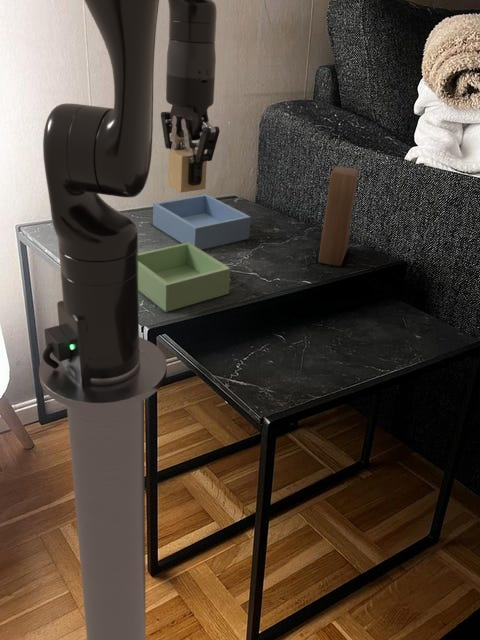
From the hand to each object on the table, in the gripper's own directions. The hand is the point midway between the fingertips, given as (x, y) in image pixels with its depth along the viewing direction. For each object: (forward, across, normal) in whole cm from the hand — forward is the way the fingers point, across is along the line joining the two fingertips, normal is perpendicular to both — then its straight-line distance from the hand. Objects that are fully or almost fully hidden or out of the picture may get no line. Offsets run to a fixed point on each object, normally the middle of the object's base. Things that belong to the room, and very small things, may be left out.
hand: (186, 180), depth 103 cm
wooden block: (+16, +9, +29) cm, 35 cm away
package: (+1, 0, 0) cm, 1 cm away
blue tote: (+16, -14, +13) cm, 25 cm away
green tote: (+17, +5, -5) cm, 18 cm away
